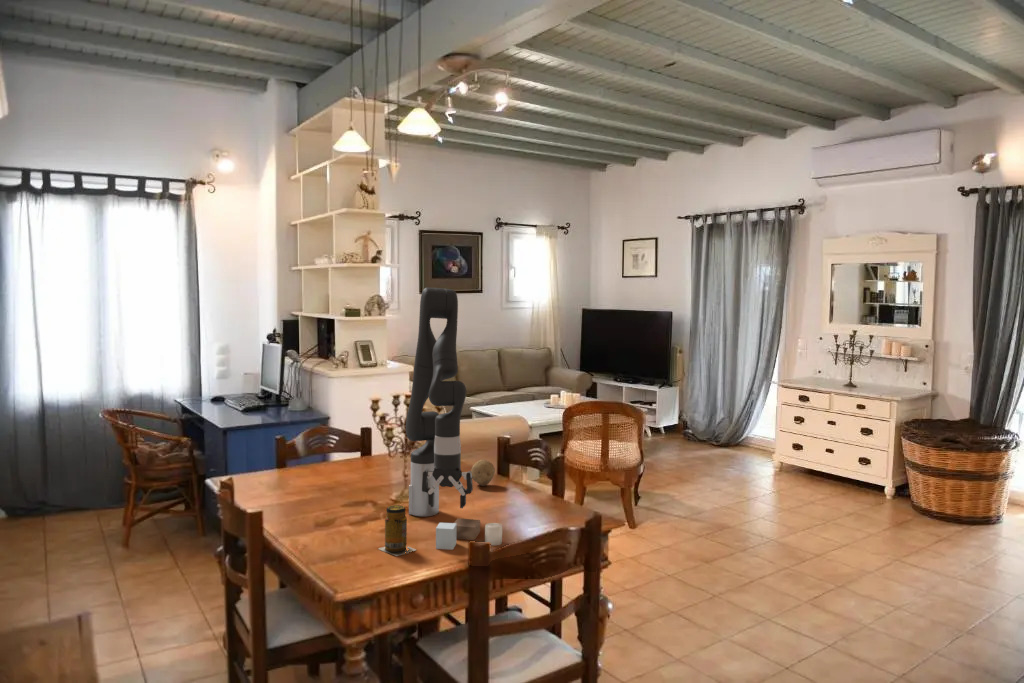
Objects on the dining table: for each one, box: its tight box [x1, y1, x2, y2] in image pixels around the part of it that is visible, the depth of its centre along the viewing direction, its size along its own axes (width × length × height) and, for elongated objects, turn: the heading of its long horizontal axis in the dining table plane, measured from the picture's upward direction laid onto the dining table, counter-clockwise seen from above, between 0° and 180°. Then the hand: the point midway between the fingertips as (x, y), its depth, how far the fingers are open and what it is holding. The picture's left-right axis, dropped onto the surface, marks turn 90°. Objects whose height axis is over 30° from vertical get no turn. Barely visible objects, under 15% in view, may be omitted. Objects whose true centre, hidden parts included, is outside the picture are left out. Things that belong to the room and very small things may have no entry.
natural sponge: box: [470, 459, 496, 487], centre depth 274 cm, size 9×9×10 cm
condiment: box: [377, 504, 417, 557], centre depth 208 cm, size 7×8×12 cm
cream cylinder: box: [484, 522, 503, 546], centre depth 215 cm, size 5×5×5 cm
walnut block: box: [453, 517, 481, 541], centre depth 221 cm, size 7×7×4 cm
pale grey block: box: [435, 522, 457, 550], centre depth 211 cm, size 5×5×6 cm
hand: (447, 507), depth 211 cm, fingers open, 8 cm apart
